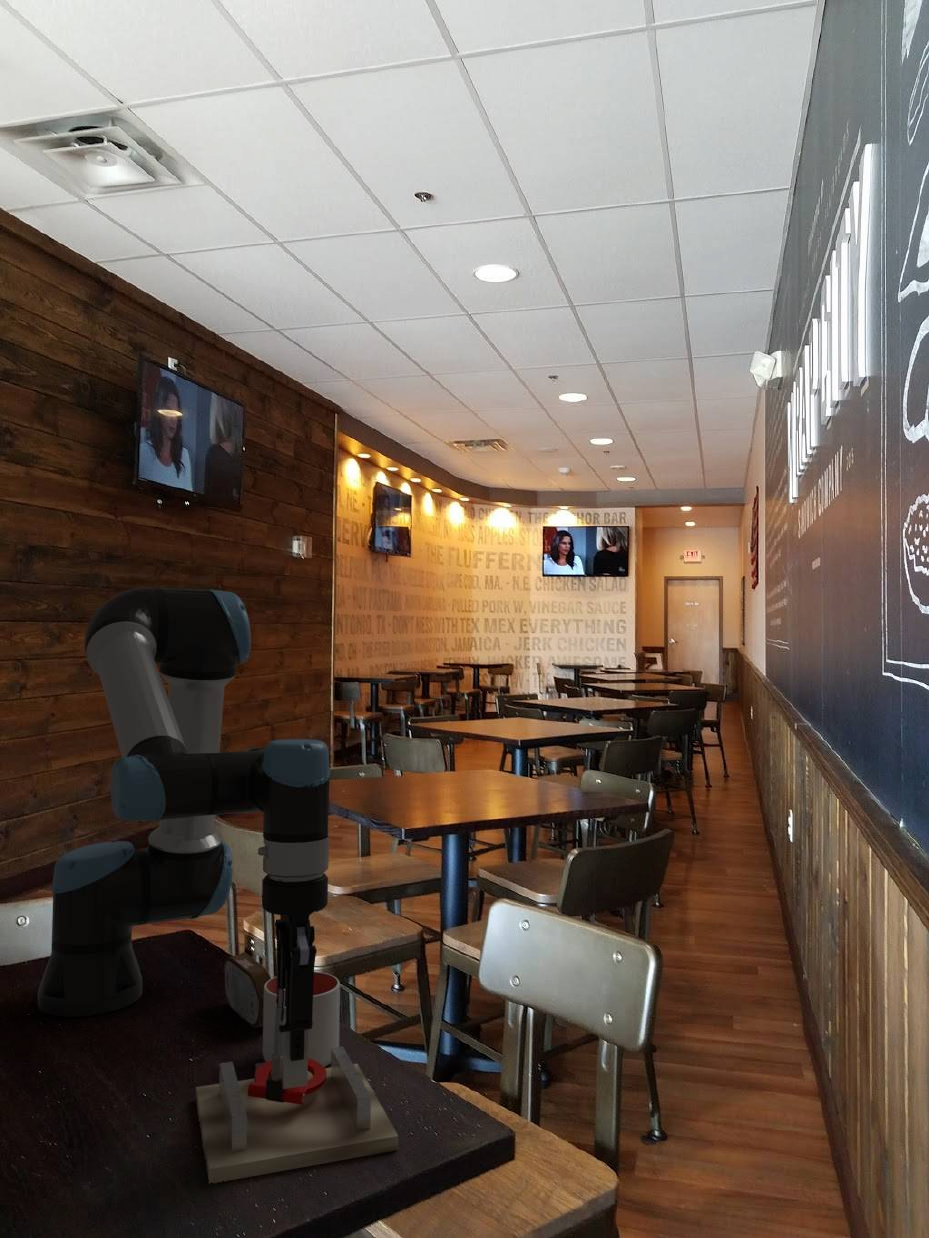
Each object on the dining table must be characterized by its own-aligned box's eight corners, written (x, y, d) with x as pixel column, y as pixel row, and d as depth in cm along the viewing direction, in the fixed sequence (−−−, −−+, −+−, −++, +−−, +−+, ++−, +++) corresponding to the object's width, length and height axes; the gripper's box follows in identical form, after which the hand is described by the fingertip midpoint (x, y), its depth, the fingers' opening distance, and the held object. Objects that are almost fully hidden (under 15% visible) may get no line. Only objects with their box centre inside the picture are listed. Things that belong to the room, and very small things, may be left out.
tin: (277, 1033, 133) (278, 973, 133) (256, 1038, 131) (257, 977, 131) (239, 1000, 145) (240, 945, 146) (219, 1004, 144) (220, 948, 144)
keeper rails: (217, 1085, 113) (217, 1056, 114) (339, 1067, 119) (339, 1039, 119) (231, 1152, 98) (232, 1118, 98) (370, 1128, 103) (370, 1096, 104)
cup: (272, 1043, 129) (273, 970, 130) (344, 1044, 129) (345, 971, 129) (254, 1076, 119) (255, 996, 120) (331, 1077, 119) (332, 998, 119)
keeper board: (195, 1099, 113) (195, 1086, 113) (357, 1075, 120) (357, 1063, 120) (209, 1184, 95) (209, 1169, 95) (398, 1149, 102) (398, 1135, 102)
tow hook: (271, 1061, 116) (239, 1098, 107) (276, 957, 116) (245, 986, 107) (335, 1071, 114) (308, 1109, 105) (341, 966, 114) (314, 995, 105)
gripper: (254, 862, 114) (251, 1058, 113) (272, 891, 100) (269, 1116, 99) (315, 858, 117) (312, 1050, 116) (341, 886, 103) (339, 1104, 102)
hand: (292, 1080), depth 107 cm, fingers closed on tow hook, 2 cm apart
